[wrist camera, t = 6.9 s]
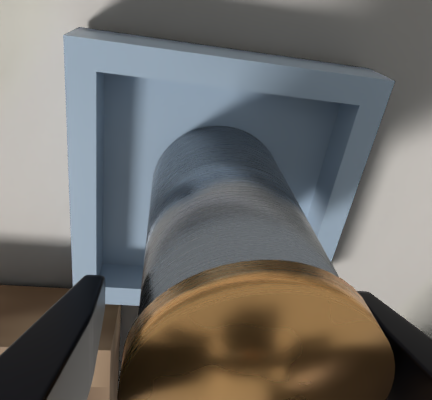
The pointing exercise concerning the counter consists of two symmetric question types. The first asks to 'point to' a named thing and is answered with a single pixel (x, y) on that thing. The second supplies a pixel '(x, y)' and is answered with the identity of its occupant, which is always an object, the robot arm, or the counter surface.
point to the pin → (243, 288)
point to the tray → (194, 119)
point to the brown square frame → (40, 303)
